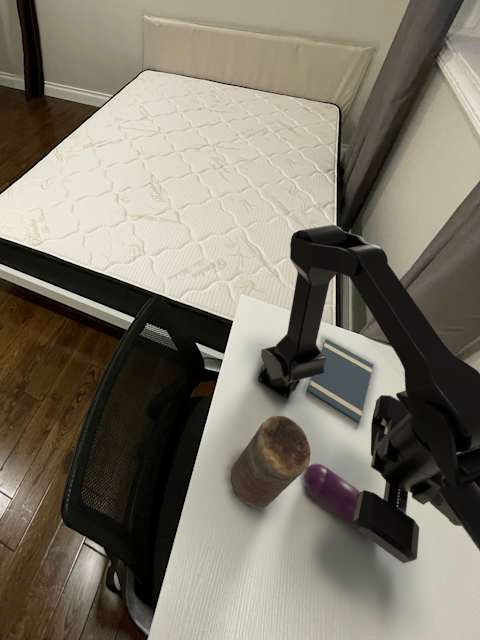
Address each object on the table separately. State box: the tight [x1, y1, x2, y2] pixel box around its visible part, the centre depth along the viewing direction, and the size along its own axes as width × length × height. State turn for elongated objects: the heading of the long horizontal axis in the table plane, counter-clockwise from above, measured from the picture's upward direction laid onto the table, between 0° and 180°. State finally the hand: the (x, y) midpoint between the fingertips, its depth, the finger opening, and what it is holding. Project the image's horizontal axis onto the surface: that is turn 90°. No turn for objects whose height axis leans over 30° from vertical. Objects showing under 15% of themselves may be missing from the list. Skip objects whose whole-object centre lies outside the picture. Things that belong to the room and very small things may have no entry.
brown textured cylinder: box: [230, 415, 311, 509], centre depth 57 cm, size 8×7×20 cm
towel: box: [306, 338, 374, 424], centre depth 77 cm, size 10×14×1 cm
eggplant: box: [303, 463, 362, 529], centre depth 59 cm, size 15×5×5 cm, turn 54°
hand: (369, 486), depth 54 cm, fingers open, 9 cm apart
